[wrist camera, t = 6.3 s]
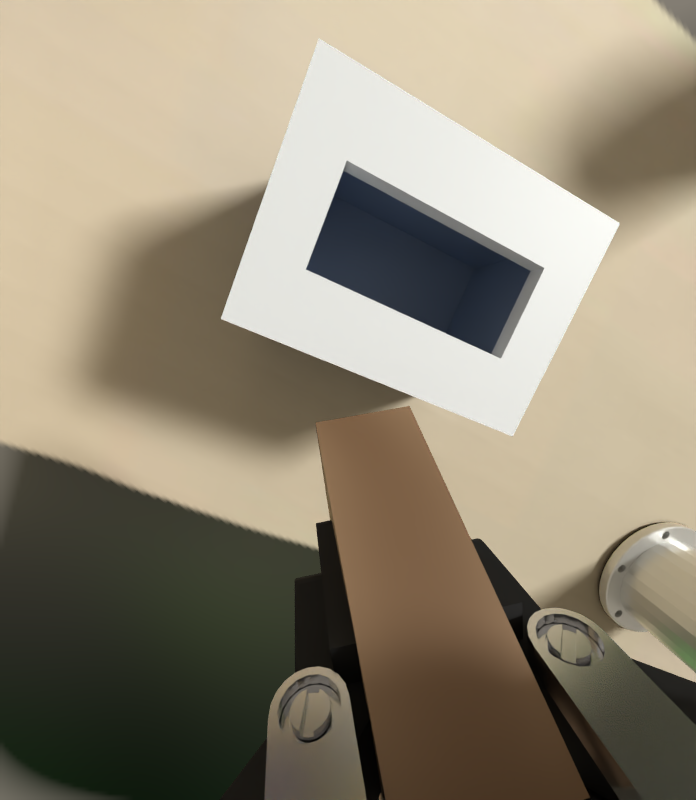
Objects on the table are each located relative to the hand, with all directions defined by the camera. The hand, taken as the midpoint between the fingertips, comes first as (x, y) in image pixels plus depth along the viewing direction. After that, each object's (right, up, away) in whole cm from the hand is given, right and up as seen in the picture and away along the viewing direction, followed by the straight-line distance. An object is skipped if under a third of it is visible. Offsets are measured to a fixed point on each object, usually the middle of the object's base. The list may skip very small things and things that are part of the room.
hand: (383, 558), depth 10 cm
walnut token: (0, -3, +2) cm, 4 cm away
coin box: (+1, +13, +17) cm, 21 cm away
